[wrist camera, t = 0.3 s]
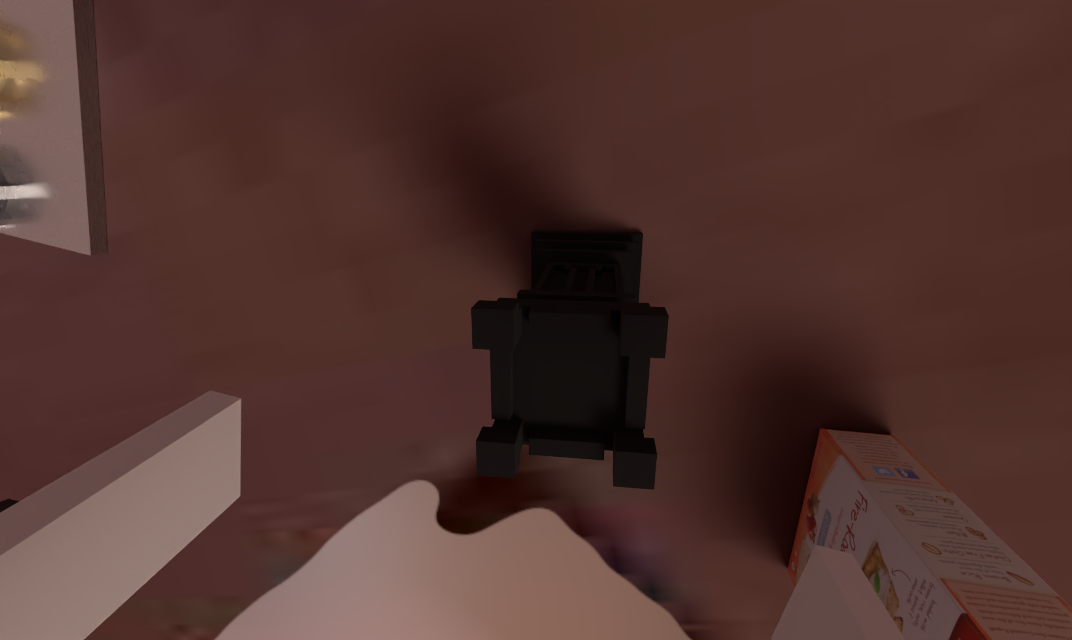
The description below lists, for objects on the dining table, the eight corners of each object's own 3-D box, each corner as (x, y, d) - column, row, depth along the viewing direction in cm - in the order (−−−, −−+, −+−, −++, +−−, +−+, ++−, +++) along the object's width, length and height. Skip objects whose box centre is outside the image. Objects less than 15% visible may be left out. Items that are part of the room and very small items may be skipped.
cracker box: (812, 425, 39) (1022, 689, 20) (895, 432, 39) (1201, 714, 19) (780, 570, 44) (926, 909, 24) (854, 579, 43) (1069, 936, 23)
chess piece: (533, 332, 40) (468, 482, 21) (533, 230, 38) (460, 297, 19) (635, 336, 39) (663, 499, 20) (642, 232, 37) (680, 305, 18)
